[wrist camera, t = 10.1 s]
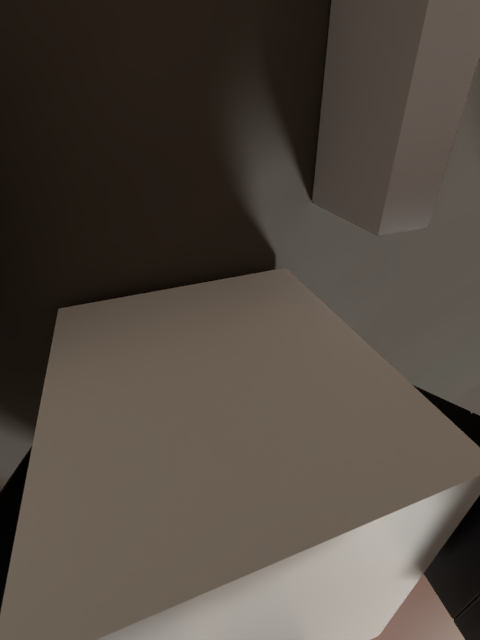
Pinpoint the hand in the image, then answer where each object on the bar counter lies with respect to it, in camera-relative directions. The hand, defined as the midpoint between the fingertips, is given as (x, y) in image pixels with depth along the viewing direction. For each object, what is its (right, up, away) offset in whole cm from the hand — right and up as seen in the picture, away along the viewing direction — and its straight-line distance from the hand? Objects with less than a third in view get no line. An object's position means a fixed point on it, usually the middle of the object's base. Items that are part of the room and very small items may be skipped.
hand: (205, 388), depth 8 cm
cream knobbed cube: (0, 0, +2) cm, 2 cm away
